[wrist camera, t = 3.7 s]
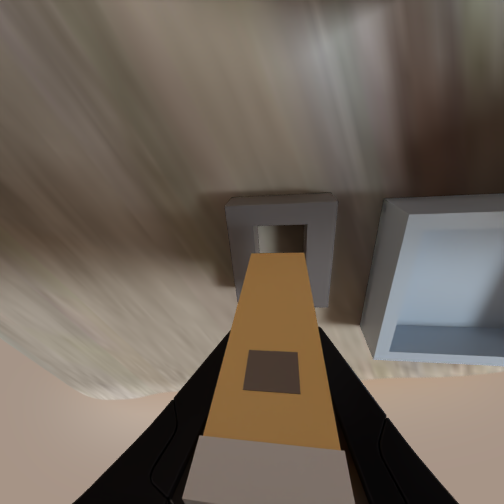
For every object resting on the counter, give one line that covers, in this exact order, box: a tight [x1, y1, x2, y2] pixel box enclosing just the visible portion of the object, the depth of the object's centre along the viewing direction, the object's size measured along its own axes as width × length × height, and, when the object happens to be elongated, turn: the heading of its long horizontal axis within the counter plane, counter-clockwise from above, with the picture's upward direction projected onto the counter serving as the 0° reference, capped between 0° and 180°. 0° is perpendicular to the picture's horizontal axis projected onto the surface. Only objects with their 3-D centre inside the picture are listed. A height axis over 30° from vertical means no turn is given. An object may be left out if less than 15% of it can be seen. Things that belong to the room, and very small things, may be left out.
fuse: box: [182, 253, 355, 504], centre depth 8 cm, size 2×4×8 cm, turn 4°
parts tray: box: [360, 193, 504, 366], centre depth 13 cm, size 10×10×3 cm
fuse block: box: [225, 193, 338, 307], centre depth 14 cm, size 6×7×2 cm
